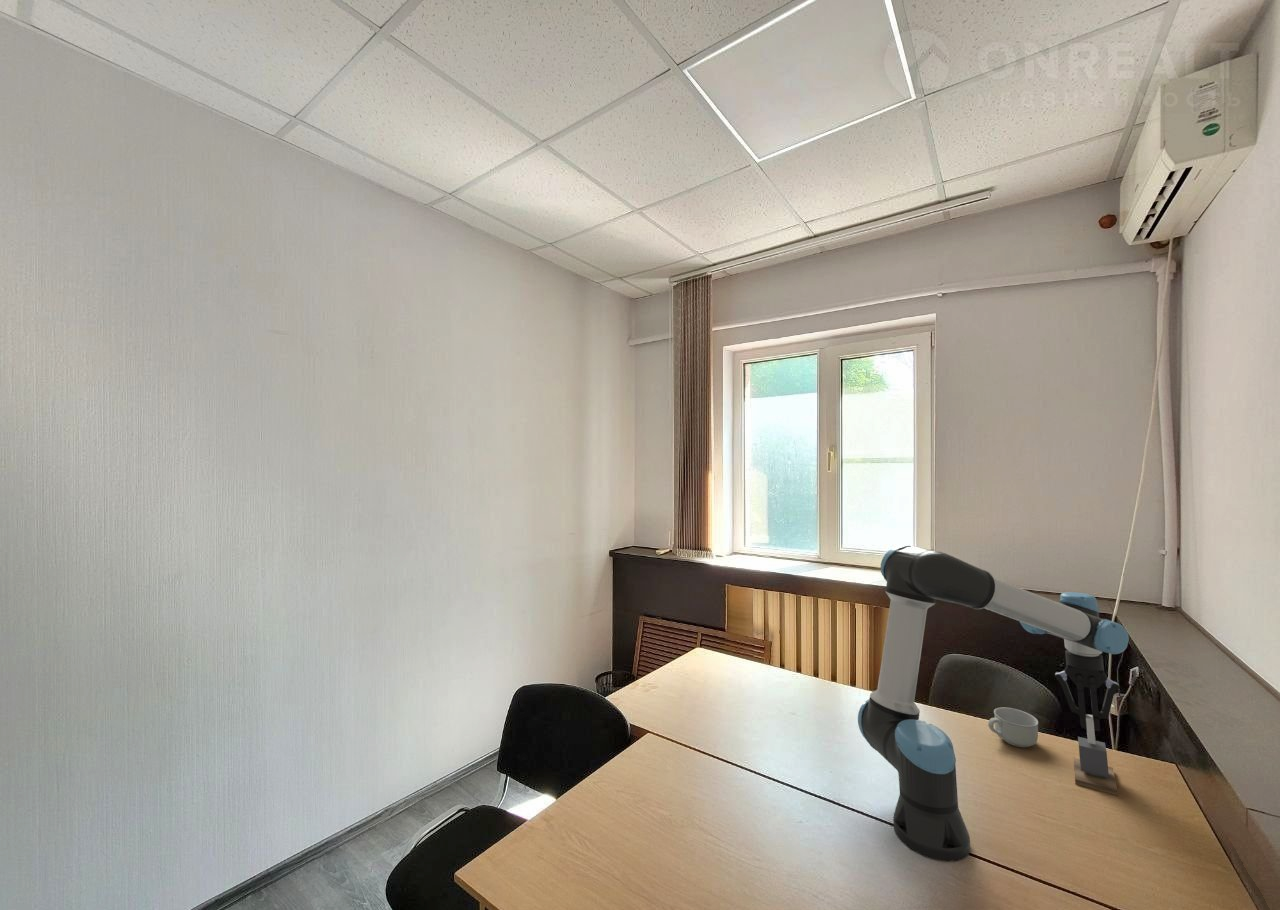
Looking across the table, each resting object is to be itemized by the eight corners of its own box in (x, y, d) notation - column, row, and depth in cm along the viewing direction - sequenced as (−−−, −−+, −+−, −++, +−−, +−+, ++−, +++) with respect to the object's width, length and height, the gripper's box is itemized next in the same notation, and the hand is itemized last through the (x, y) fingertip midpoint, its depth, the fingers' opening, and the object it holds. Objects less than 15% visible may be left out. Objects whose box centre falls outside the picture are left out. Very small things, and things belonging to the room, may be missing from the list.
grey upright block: (1109, 778, 126) (1106, 751, 126) (1080, 770, 129) (1078, 745, 130) (1107, 768, 130) (1104, 742, 130) (1080, 761, 134) (1077, 736, 134)
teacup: (1024, 733, 153) (1022, 707, 153) (1049, 752, 142) (1047, 724, 142) (977, 732, 154) (975, 707, 155) (998, 751, 143) (996, 724, 144)
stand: (1117, 795, 122) (1114, 761, 123) (1075, 783, 128) (1072, 751, 128) (1113, 772, 132) (1110, 741, 132) (1073, 762, 137) (1071, 732, 137)
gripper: (1115, 652, 130) (1124, 742, 129) (1051, 643, 138) (1059, 728, 137) (1118, 661, 124) (1127, 756, 123) (1051, 651, 133) (1059, 740, 131)
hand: (1091, 741), depth 130 cm, fingers closed
